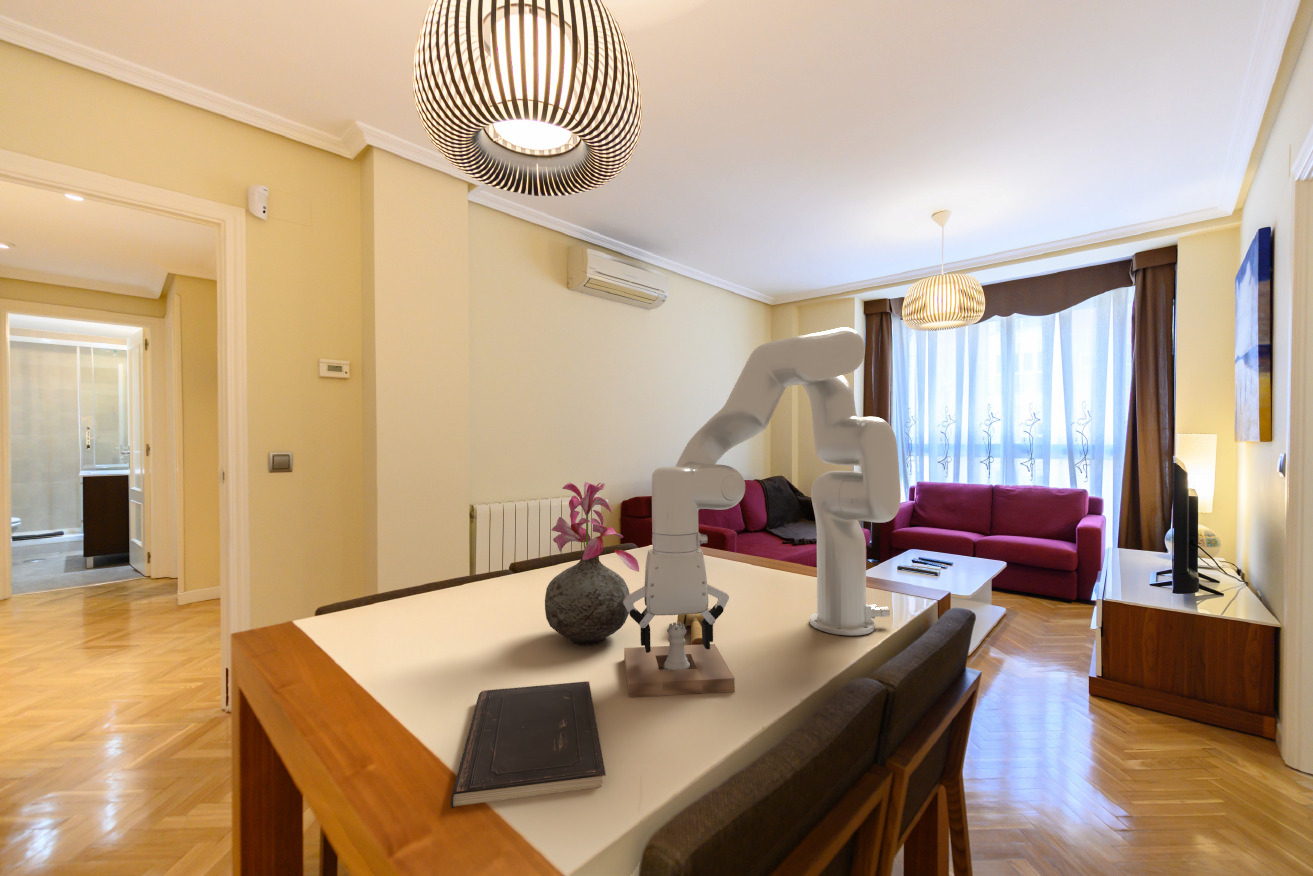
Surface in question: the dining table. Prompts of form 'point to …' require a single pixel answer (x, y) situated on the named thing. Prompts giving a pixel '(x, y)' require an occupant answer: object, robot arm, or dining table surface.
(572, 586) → the vase
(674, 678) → the board
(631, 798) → the dining table surface
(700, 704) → the dining table surface
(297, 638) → the dining table surface
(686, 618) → the kendama
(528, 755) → the hardcover book
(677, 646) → the rook chess piece
